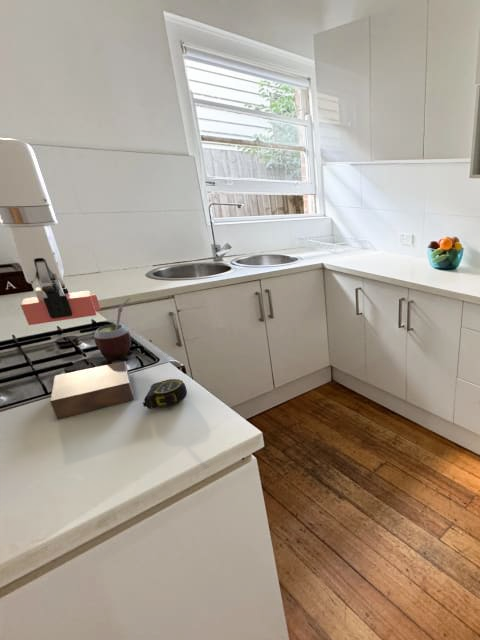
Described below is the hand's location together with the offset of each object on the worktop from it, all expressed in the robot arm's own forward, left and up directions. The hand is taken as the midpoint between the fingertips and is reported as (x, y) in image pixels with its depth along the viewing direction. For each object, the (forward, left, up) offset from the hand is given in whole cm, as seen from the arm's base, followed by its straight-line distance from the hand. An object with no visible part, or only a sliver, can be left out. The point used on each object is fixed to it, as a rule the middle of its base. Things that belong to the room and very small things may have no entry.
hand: (62, 311), depth 75 cm
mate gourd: (+6, +15, -18) cm, 24 cm away
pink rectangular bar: (0, 0, -1) cm, 1 cm away
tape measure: (+12, -15, -18) cm, 26 cm away
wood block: (+1, -4, -18) cm, 18 cm away
